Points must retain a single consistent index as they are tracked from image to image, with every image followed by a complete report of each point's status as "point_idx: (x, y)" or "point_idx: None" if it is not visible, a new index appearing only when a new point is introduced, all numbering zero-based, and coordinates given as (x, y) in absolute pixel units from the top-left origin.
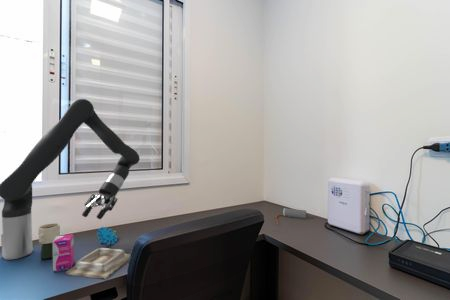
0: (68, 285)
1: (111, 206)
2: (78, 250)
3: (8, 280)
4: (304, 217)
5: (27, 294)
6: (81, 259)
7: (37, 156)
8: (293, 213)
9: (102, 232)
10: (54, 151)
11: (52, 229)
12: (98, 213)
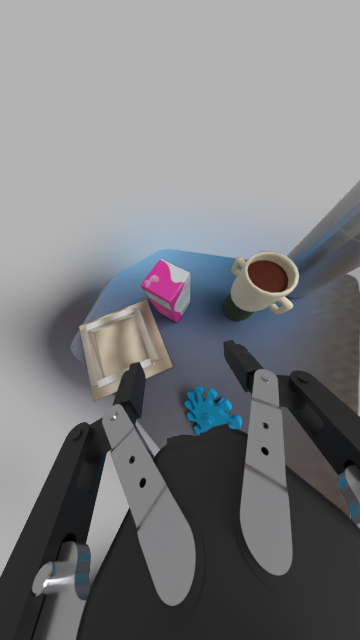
0: (116, 292)
1: (87, 477)
2: (222, 349)
3: (198, 256)
4: None
5: (142, 261)
6: (137, 316)
7: None
8: None
9: (216, 409)
10: None
11: (242, 275)
12: (135, 374)
